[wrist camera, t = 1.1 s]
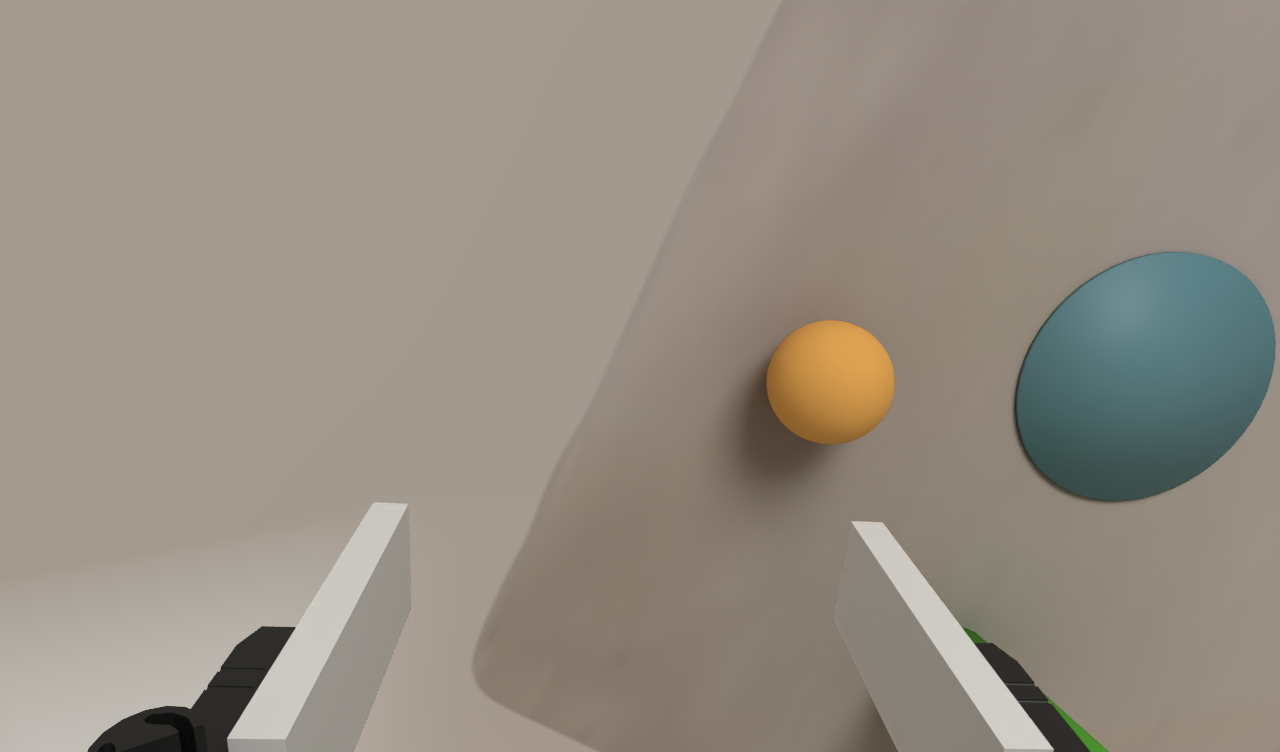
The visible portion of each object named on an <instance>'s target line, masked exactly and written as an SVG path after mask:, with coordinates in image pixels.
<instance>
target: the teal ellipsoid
mask: <svg viewBox="0 0 1280 752" xmlns="http://www.w3.org/2000/svg"><path fill="white" fill-rule="evenodd" d="M1274 361H1275V334H1274V326H1273V322H1272V318H1271V315H1270V311H1269V309H1268V307H1267V305H1266V303H1265V300H1264V298H1263V297H1262V295H1261V294H1260V292H1259V291H1258V290H1257V288H1256V287H1255V285H1254V284H1253V283H1252V282H1251V281H1250V280H1249V279H1248V278H1247V277H1246V276H1245V275H1243V274H1242V273H1241V272H1239V271H1238V270H1236V269H1235V268H1234V267H1232V266H1230V265H1228V264H1226V263H1224V262H1222V261H1220V260H1217V259H1214V258H1211V257H1208V256H1204V255H1199V254H1192V253H1185V252H1164V253H1157V254H1149V255H1145V256H1141V257H1138V258H1134V259H1130V260H1128V261H1125V262H1123V263H1120V264H1118V265H1115V266H1113V267H1111V268H1109V269H1107V270H1105V271H1103V272H1102V273H1100V274H1098V275H1096V276H1095V277H1093V278H1092V279H1090V280H1089V281H1087V282H1086V283H1084V284H1083V285H1081V286H1080V287H1079V288H1078V289H1077V290H1075V291H1074V292H1073V293H1072V294H1071V295H1069V296H1068V297H1067V298H1066V299H1065V300H1064V301H1063V302H1062V303H1061V304H1060V305H1059V306H1058V307H1057V308H1056V310H1055V311H1054V312H1053V313H1052V314H1051V315H1050V317H1049V318H1048V319H1047V321H1046V322H1045V323H1044V325H1043V326H1042V327H1041V329H1040V330H1039V332H1038V334H1037V335H1036V337H1035V339H1034V340H1033V342H1032V344H1031V346H1030V348H1029V351H1028V353H1027V355H1026V357H1025V360H1024V363H1023V366H1022V369H1021V372H1020V375H1019V380H1018V386H1017V391H1016V418H1017V425H1018V429H1019V433H1020V437H1021V440H1022V442H1023V445H1024V447H1025V449H1026V451H1027V453H1028V454H1029V456H1030V458H1031V459H1032V461H1033V462H1034V464H1035V465H1036V466H1037V467H1038V468H1039V469H1040V470H1041V472H1042V473H1043V474H1045V475H1046V476H1047V477H1048V478H1050V479H1051V480H1052V481H1053V482H1055V483H1056V484H1058V485H1059V486H1061V487H1063V488H1064V489H1066V490H1068V491H1071V492H1073V493H1076V494H1078V495H1081V496H1084V497H1089V498H1093V499H1099V500H1109V501H1117V500H1131V499H1139V498H1144V497H1148V496H1152V495H1156V494H1159V493H1161V492H1164V491H1167V490H1170V489H1172V488H1174V487H1176V486H1178V485H1181V484H1183V483H1185V482H1187V481H1189V480H1190V479H1192V478H1193V477H1195V476H1197V475H1198V474H1200V473H1201V472H1203V471H1204V470H1206V469H1207V468H1208V467H1210V466H1211V465H1212V464H1214V463H1215V462H1216V461H1217V460H1218V459H1220V458H1221V457H1222V456H1223V455H1224V454H1225V453H1226V452H1227V451H1228V450H1229V449H1230V448H1231V447H1232V446H1233V445H1234V444H1235V442H1236V441H1237V440H1238V439H1239V438H1240V437H1241V436H1242V434H1243V433H1244V432H1245V430H1246V429H1247V427H1248V426H1249V425H1250V423H1251V422H1252V420H1253V418H1254V417H1255V415H1256V413H1257V411H1258V410H1259V408H1260V406H1261V404H1262V402H1263V399H1264V397H1265V395H1266V392H1267V390H1268V386H1269V383H1270V380H1271V377H1272V372H1273V366H1274Z"/></svg>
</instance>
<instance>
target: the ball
mask: <svg viewBox="0 0 1280 752" xmlns="http://www.w3.org/2000/svg"><path fill="white" fill-rule="evenodd" d="M766 383H767V393H768V398H769V401H770V404H771V406H772V408H773V410H774V412H775V414H776V416H777V417H778V418H779V420H780V421H781V422H782V423H783V424H784V425H785V426H786V427H787V428H788V429H789V430H790V431H792V432H793V433H795V434H796V435H798V436H800V437H802V438H804V439H806V440H809V441H812V442H816V443H820V444H840V443H846V442H850V441H853V440H855V439H858V438H860V437H862V436H864V435H865V434H867V433H868V432H870V431H871V430H872V429H873V428H875V427H876V426H877V425H878V424H879V423H880V421H881V420H882V419H883V417H884V416H885V415H886V413H887V411H888V409H889V407H890V404H891V402H892V398H893V394H894V388H895V377H894V371H893V366H892V363H891V360H890V358H889V356H888V354H887V352H886V350H885V349H884V347H883V346H882V345H881V344H880V342H879V341H878V340H877V339H876V338H875V337H874V336H872V335H871V334H870V333H869V332H867V331H866V330H864V329H862V328H860V327H858V326H856V325H853V324H851V323H847V322H843V321H835V320H825V321H818V322H814V323H810V324H808V325H805V326H803V327H801V328H799V329H797V330H795V331H794V332H792V333H791V334H790V335H788V336H787V337H786V338H785V339H784V340H783V341H782V342H781V344H780V345H779V346H778V347H777V349H776V350H775V352H774V354H773V356H772V358H771V361H770V364H769V367H768V371H767V380H766Z"/></svg>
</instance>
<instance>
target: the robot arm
mask: <svg viewBox="0 0 1280 752" xmlns="http://www.w3.org/2000/svg"><path fill="white" fill-rule="evenodd" d="M409 546H410V544H409V505H408V504H398V503H397V504H396V503H373V505H372V506H371V508H370V509H369V511H368V512H367V514H366V516H365V517H364V519H363V520H362V522H361V524H360V525H359V527H358V529H357V530H356V532H355V533H354V535H353V536H352V538H351V540H350V541H349V543H348V544H347V546H346V548H345V549H344V551H343V553H342V554H341V556H340V557H339V559H338V561H337V562H336V564H335V566H334V567H333V569H332V570H331V572H330V573H329V575H328V577H327V579H326V580H325V582H324V583H323V585H322V586H321V588H320V590H319V591H318V593H317V594H316V596H315V598H314V599H313V601H312V602H311V604H310V606H309V607H308V609H307V610H306V612H305V614H304V615H303V617H302V619H301V620H300V622H299V623H298V625H297V627H265V626H263V627H261V628H259V629H258V630H257V631H255V632H254V633H253V634H251V635H250V636H248V637H247V638H246V639H244V640H243V641H242V642H240V643H239V644H238V645H236V647H235V648H234V650H233V651H232V653H231V654H230V655H229V657H228V658H227V660H226V661H225V662H224V664H223V665H222V666H221V670H220V672H217V673H216V675H215V676H214V677H213V679H212V680H211V682H210V683H209V684H208V688H207V690H204V691H203V693H202V694H201V696H200V697H199V699H198V700H197V701H196V703H195V704H194V705H193V707H192V708H191V710H190V709H188V708H186V707H176V706H165V707H160V708H154V709H149V710H145V711H142V712H140V713H137V714H135V715H133V716H130V717H128V718H126V719H123V720H121V721H120V722H118V723H117V724H115V725H114V726H112V727H111V728H109V729H108V730H107V731H105V732H103V734H102V735H101V736H100V737H99V738H98V739H97V740H96V741H95V742H94V743H93V745H91V747H90V748H89V749H88V752H354V750H355V748H356V745H357V742H358V740H359V738H360V735H361V732H362V730H363V728H364V725H365V723H366V720H367V717H368V715H369V712H370V710H371V707H372V705H373V702H374V700H375V697H376V695H377V692H378V690H379V687H380V685H381V682H382V680H383V677H384V675H385V672H386V670H387V667H388V665H389V662H390V660H391V657H392V655H393V652H394V650H395V647H396V645H397V642H398V640H399V637H400V635H401V632H402V630H403V627H404V625H405V622H406V620H407V617H408V615H409V612H410V610H411V580H410V547H409ZM832 620H833V622H834V624H835V626H836V628H837V630H838V632H839V634H840V636H841V638H842V640H843V642H844V644H845V646H846V648H847V650H848V652H849V654H850V656H851V658H852V660H853V662H854V664H855V666H856V668H857V670H858V672H859V674H860V676H861V678H862V680H863V682H864V684H865V686H866V688H867V690H868V692H869V694H870V696H871V698H872V700H873V702H874V704H875V706H876V708H877V710H878V712H879V714H880V717H881V719H882V721H883V723H884V725H885V727H886V729H887V731H888V733H889V735H890V737H891V739H892V741H893V743H894V745H895V747H896V749H897V751H898V752H1090V750H1089V749H1088V748H1087V747H1086V745H1085V744H1084V743H1083V742H1082V740H1081V739H1080V738H1079V737H1078V736H1077V734H1076V733H1075V732H1074V731H1073V729H1072V728H1071V727H1070V726H1069V724H1068V723H1067V722H1066V721H1065V720H1064V718H1063V717H1062V716H1061V715H1060V713H1059V712H1058V711H1057V710H1056V709H1055V707H1054V706H1053V705H1052V704H1049V703H1048V699H1047V697H1046V696H1045V695H1044V694H1043V693H1042V691H1041V690H1040V689H1039V688H1038V687H1035V685H1034V681H1033V680H1032V679H1031V678H1030V677H1029V675H1028V674H1027V673H1026V672H1025V670H1024V669H1023V668H1022V667H1021V665H1020V664H1019V663H1018V662H1017V661H1016V660H1014V659H1013V658H1012V657H1010V656H1009V655H1008V654H1006V653H1005V652H1004V651H1002V650H1001V649H1000V648H998V647H997V646H996V645H994V644H993V643H973V642H972V640H971V639H970V638H969V636H968V635H967V634H966V633H965V631H964V630H963V629H962V627H961V626H960V625H959V623H958V622H957V621H956V619H955V618H954V617H953V615H952V614H951V613H950V611H949V610H948V609H947V607H946V606H945V605H944V603H943V602H942V601H941V599H940V598H939V597H938V595H937V594H936V593H935V591H934V590H933V589H932V588H931V586H930V585H929V584H928V582H927V581H926V580H925V578H924V577H923V576H922V574H921V573H920V572H919V570H918V569H917V568H916V566H915V565H914V564H913V562H912V561H911V560H910V558H909V557H908V556H907V554H906V553H905V552H904V550H903V549H902V548H901V547H900V545H899V544H898V543H897V541H896V540H895V539H894V537H893V536H892V535H891V533H890V532H889V531H888V529H887V528H886V527H885V525H884V524H883V523H882V522H856V521H851V524H850V529H849V535H848V540H847V545H846V550H845V556H844V561H843V566H842V572H841V577H840V582H839V587H838V593H837V598H836V603H835V609H834V614H833V619H832Z"/></svg>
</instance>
